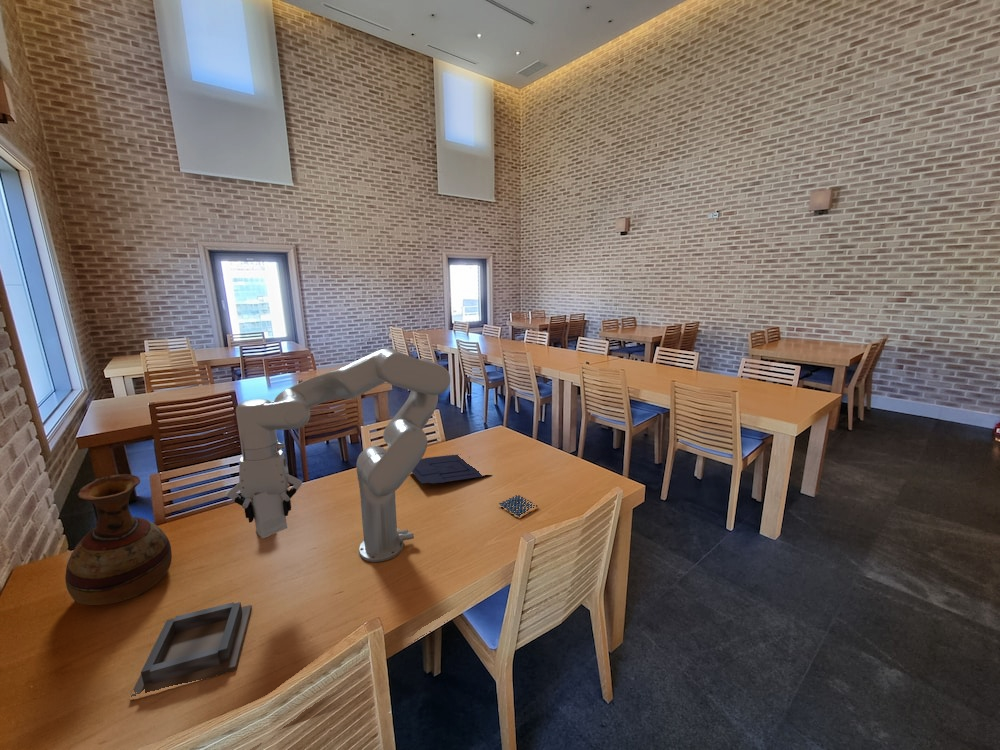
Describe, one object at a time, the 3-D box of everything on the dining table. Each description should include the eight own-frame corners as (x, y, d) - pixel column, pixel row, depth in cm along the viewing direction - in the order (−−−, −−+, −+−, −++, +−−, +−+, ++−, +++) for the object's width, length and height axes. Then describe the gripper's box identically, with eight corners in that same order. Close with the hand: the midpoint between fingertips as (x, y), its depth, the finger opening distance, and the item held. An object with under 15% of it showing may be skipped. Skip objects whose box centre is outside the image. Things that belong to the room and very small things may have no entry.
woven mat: (518, 521, 133) (518, 516, 132) (497, 508, 140) (497, 503, 140) (539, 510, 140) (539, 505, 139) (518, 498, 147) (518, 493, 147)
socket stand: (251, 608, 96) (249, 594, 95) (235, 670, 81) (233, 654, 80) (165, 629, 90) (161, 615, 89) (130, 701, 75) (125, 684, 74)
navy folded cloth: (401, 467, 168) (402, 458, 167) (465, 459, 184) (466, 451, 183) (422, 492, 147) (423, 483, 147) (492, 481, 163) (493, 473, 163)
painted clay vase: (86, 629, 90) (53, 511, 83) (61, 593, 100) (30, 485, 94) (188, 577, 106) (168, 474, 99) (157, 550, 117) (137, 455, 110)
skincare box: (281, 522, 105) (275, 480, 102) (288, 529, 102) (282, 486, 99) (255, 533, 100) (248, 489, 97) (261, 540, 97) (255, 495, 95)
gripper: (301, 440, 102) (308, 502, 107) (222, 449, 96) (232, 515, 100) (299, 451, 96) (306, 517, 100) (213, 462, 89) (225, 532, 93)
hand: (269, 515), depth 100 cm, fingers closed on skincare box, 7 cm apart
